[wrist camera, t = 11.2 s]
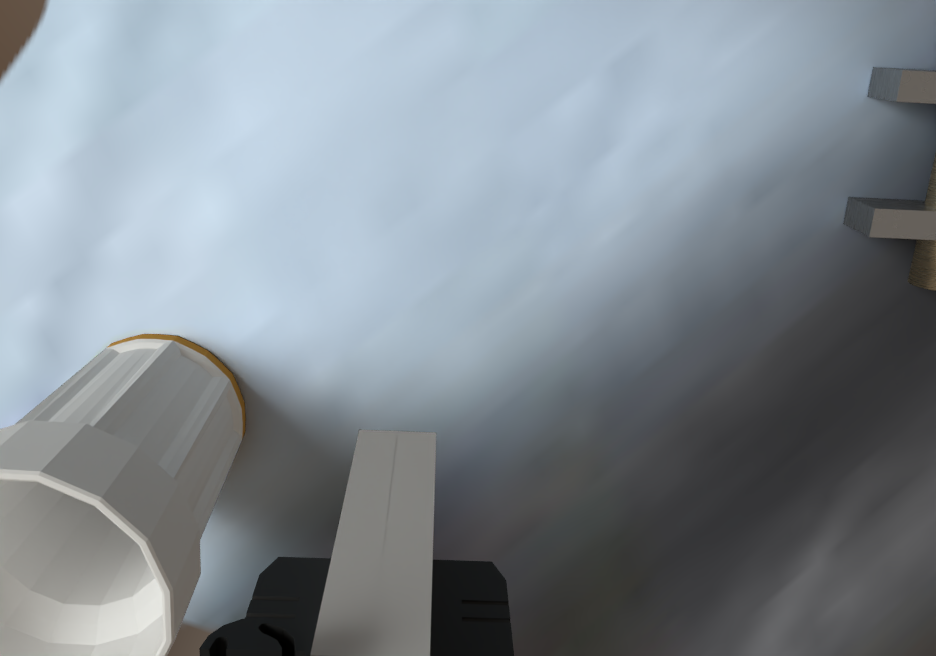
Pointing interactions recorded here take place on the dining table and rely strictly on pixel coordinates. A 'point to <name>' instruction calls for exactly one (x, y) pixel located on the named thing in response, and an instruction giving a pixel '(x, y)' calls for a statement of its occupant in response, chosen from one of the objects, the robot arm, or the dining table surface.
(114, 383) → the cup
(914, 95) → the rack with metal cylinders
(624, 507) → the dining table surface
